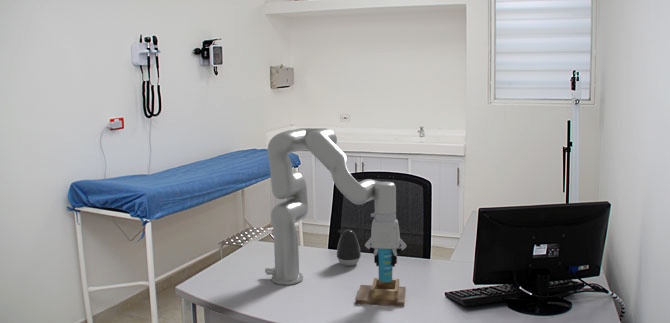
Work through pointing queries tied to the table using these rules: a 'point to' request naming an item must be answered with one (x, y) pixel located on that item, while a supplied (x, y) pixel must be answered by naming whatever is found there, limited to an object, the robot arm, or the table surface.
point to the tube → (385, 264)
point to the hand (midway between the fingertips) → (385, 264)
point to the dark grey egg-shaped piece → (348, 248)
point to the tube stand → (382, 293)
